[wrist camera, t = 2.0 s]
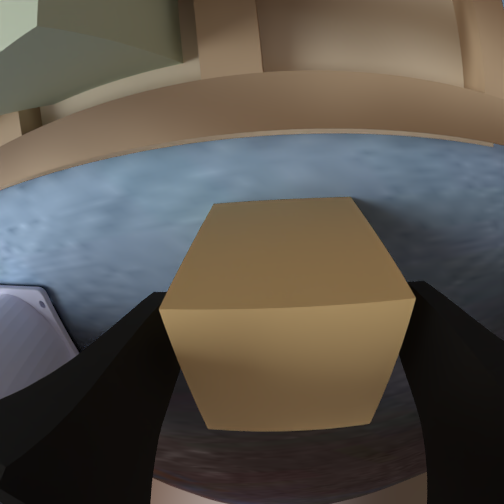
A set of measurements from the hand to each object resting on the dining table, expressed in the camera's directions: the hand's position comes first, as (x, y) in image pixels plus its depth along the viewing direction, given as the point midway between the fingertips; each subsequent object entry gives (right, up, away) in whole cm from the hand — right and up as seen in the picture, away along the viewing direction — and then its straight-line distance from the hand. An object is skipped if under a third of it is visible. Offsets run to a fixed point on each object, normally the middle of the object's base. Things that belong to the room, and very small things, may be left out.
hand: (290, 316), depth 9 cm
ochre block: (0, +2, +3) cm, 3 cm away
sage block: (-6, +9, -3) cm, 11 cm away
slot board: (-6, +10, -1) cm, 12 cm away
